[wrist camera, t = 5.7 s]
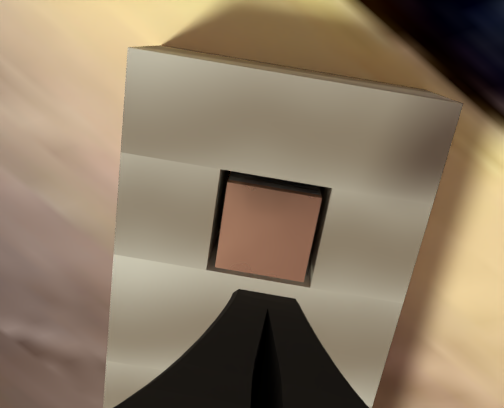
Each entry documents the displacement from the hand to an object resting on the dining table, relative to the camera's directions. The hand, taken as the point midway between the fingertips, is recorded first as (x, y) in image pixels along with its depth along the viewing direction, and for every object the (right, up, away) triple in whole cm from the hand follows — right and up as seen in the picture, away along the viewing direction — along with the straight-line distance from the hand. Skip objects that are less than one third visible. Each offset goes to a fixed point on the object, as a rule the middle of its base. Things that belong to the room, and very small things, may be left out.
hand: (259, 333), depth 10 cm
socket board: (0, -1, +11) cm, 11 cm away
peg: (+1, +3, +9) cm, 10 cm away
